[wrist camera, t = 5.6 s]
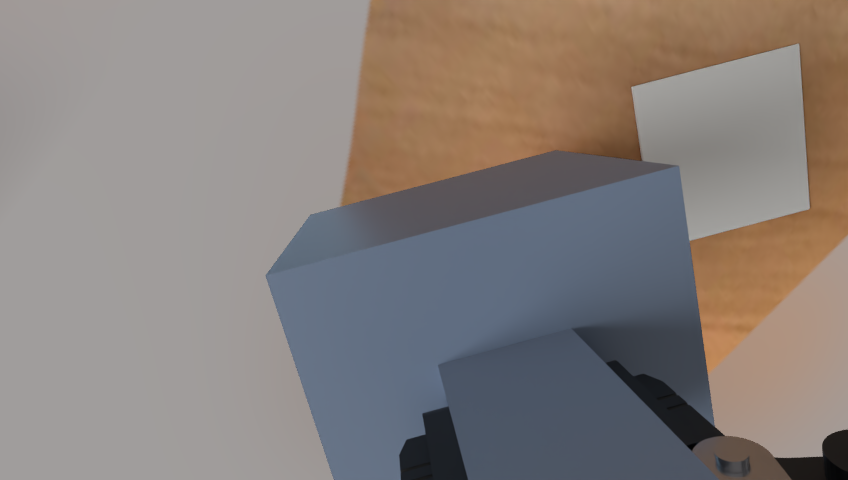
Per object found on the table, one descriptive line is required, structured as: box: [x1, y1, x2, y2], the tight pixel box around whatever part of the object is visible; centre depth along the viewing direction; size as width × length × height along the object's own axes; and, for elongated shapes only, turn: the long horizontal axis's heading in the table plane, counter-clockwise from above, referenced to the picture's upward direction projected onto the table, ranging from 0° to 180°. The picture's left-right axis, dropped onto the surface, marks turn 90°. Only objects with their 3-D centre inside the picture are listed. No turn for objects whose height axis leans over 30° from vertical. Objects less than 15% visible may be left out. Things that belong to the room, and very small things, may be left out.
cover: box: [266, 150, 719, 480], centre depth 15 cm, size 10×10×15 cm
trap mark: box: [631, 44, 810, 241], centre depth 38 cm, size 12×12×1 cm
